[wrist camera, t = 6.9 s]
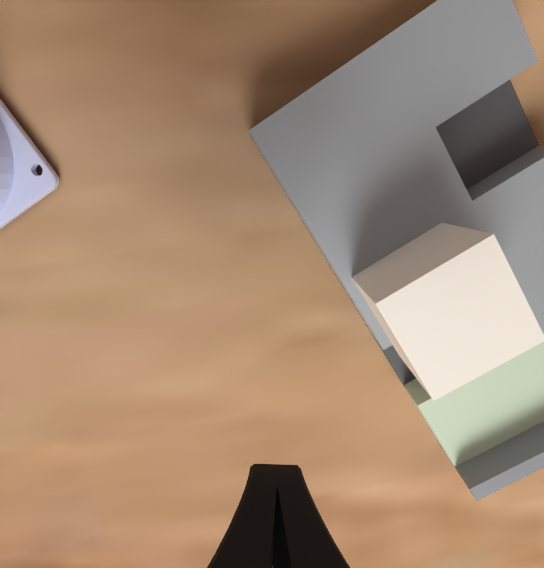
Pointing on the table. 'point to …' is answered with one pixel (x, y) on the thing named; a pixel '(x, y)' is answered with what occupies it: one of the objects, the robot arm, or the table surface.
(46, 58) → the table surface
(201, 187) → the table surface
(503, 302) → the block
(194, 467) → the table surface
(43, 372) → the table surface
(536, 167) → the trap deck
